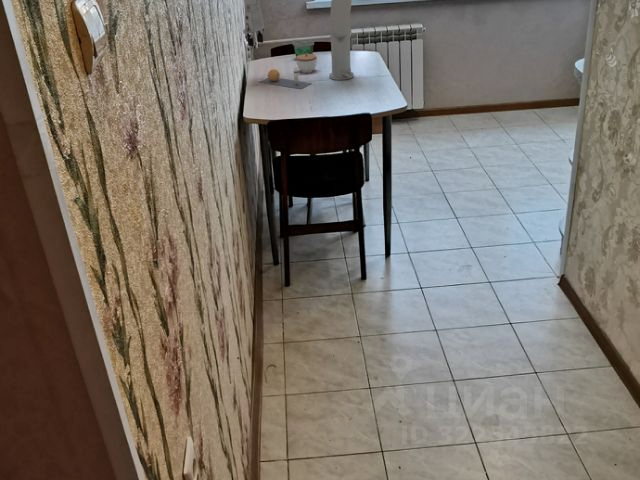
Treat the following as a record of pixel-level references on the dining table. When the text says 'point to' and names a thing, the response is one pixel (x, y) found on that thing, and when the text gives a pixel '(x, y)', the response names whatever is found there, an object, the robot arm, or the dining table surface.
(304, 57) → the lidded jar
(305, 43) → the food container
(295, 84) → the pin
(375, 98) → the dining table surface
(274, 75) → the ball
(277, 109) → the dining table surface
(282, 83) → the grey flat board
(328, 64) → the dining table surface
